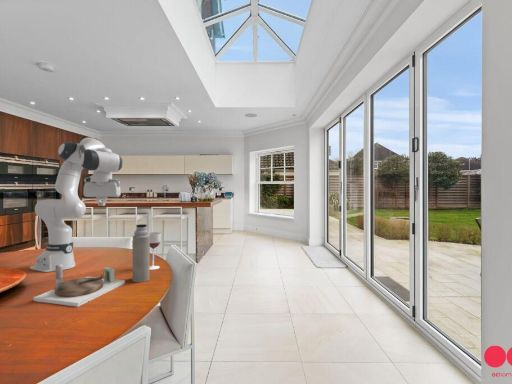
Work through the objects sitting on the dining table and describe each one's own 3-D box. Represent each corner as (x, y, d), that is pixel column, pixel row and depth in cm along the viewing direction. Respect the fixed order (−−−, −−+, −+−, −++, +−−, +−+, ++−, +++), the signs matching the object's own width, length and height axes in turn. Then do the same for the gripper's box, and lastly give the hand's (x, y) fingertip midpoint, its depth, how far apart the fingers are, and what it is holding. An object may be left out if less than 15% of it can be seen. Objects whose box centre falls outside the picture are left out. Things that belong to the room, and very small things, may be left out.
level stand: (33, 300, 112) (33, 282, 112) (87, 279, 139) (87, 264, 139) (77, 306, 108) (78, 287, 108) (124, 283, 134) (124, 268, 134)
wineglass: (152, 270, 155) (152, 235, 155) (142, 268, 160) (142, 233, 160) (163, 267, 162) (164, 233, 162) (153, 264, 167) (154, 231, 166)
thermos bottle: (140, 276, 145) (140, 223, 145) (152, 278, 143) (153, 224, 142) (128, 281, 138) (129, 225, 137) (141, 283, 135) (142, 226, 135)
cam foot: (96, 278, 136) (96, 253, 136) (115, 286, 126) (115, 259, 126) (47, 290, 119) (47, 262, 119) (64, 300, 109) (65, 270, 109)
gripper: (123, 179, 146) (123, 205, 145) (91, 180, 151) (90, 205, 150) (115, 178, 140) (114, 205, 139) (81, 179, 145) (80, 205, 144)
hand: (101, 205), depth 145 cm, fingers closed
